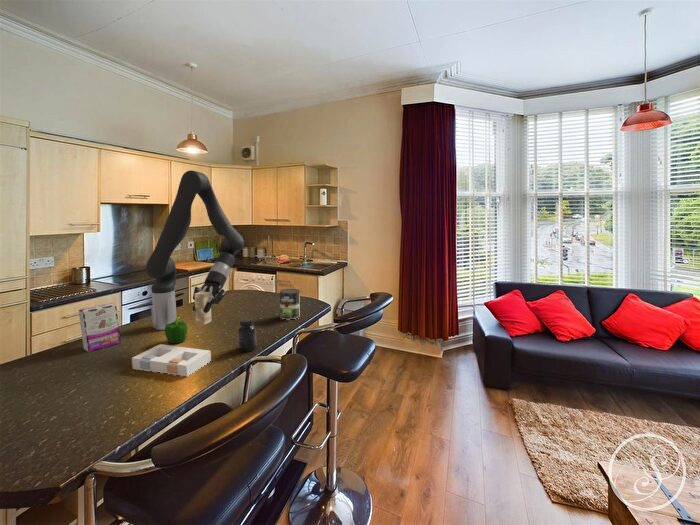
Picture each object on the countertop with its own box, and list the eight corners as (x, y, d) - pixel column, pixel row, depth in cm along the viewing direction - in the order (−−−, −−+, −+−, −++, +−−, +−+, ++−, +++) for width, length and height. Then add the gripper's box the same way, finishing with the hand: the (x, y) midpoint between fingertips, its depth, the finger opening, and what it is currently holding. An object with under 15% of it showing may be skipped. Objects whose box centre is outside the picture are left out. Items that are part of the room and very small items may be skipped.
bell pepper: (176, 346, 129) (174, 322, 127) (161, 343, 132) (159, 320, 130) (193, 339, 137) (191, 316, 135) (178, 336, 139) (177, 314, 138)
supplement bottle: (249, 344, 132) (248, 316, 131) (260, 348, 129) (259, 319, 127) (234, 349, 127) (233, 320, 125) (246, 354, 123) (244, 324, 121)
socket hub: (131, 369, 110) (130, 357, 109) (160, 354, 122) (159, 343, 121) (186, 377, 105) (185, 365, 104) (211, 361, 117) (210, 349, 116)
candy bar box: (115, 340, 134) (111, 302, 132) (121, 343, 132) (117, 304, 129) (82, 349, 125) (77, 309, 122) (88, 352, 122) (83, 311, 120)
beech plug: (195, 323, 126) (194, 293, 124) (202, 320, 130) (201, 291, 128) (204, 324, 125) (203, 294, 123) (211, 321, 129) (210, 292, 127)
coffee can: (296, 321, 161) (296, 293, 159) (277, 319, 163) (276, 292, 161) (302, 314, 171) (302, 289, 169) (284, 313, 173) (284, 288, 171)
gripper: (199, 268, 133) (178, 305, 123) (229, 271, 130) (211, 308, 120) (207, 278, 139) (189, 314, 129) (237, 281, 136) (220, 317, 126)
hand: (199, 311), depth 125 cm, fingers closed on beech plug, 4 cm apart
